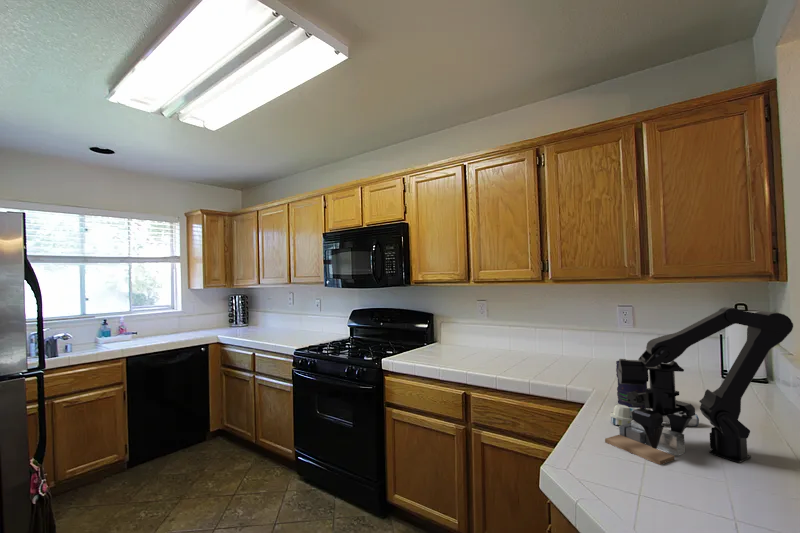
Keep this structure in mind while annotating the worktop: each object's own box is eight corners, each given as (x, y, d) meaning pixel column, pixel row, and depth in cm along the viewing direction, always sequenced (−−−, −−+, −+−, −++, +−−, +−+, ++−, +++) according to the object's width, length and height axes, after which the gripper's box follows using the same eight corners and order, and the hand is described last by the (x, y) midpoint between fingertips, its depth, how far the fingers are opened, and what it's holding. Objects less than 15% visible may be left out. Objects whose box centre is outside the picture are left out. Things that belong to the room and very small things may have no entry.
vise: (659, 439, 109) (659, 427, 109) (640, 445, 105) (639, 433, 105) (639, 432, 114) (638, 420, 114) (619, 438, 111) (619, 425, 111)
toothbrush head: (701, 415, 117) (616, 404, 119) (699, 437, 116) (614, 425, 118) (689, 409, 122) (608, 398, 124) (687, 430, 122) (606, 419, 124)
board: (674, 459, 97) (674, 455, 97) (660, 465, 95) (660, 460, 95) (619, 438, 111) (619, 434, 111) (605, 442, 108) (605, 438, 108)
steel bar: (684, 453, 101) (684, 434, 101) (677, 456, 99) (676, 437, 99) (639, 437, 111) (638, 419, 112) (631, 439, 110) (631, 421, 110)
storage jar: (611, 402, 142) (609, 361, 142) (629, 398, 146) (627, 359, 146) (637, 410, 133) (635, 367, 133) (655, 406, 137) (653, 364, 137)
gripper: (653, 375, 115) (655, 428, 115) (611, 383, 107) (614, 440, 107) (695, 384, 105) (697, 441, 105) (652, 394, 97) (655, 456, 97)
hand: (665, 444), depth 104 cm, fingers open, 9 cm apart
